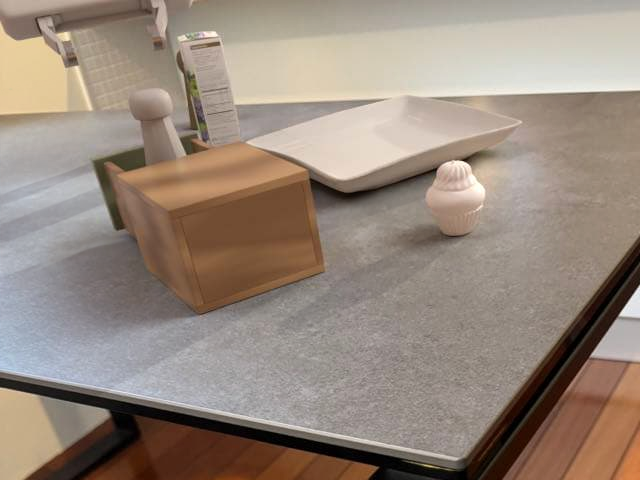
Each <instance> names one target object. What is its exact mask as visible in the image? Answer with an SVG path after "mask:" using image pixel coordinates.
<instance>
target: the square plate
mask: <svg viewBox="0 0 640 480" xmlns="http://www.w3.org/2000/svg"><path fill="white" fill-rule="evenodd" d="M522 124H523V122H522V120H520V119H516V118H513V117H510V116H506V115H501V114H498V113H496V112H491V111H487V110H485V109H480V108H477V107H474V106H469V105H465V104H460V103H457V102H452V101H446V100H441V99H436V98H430V97H423V96H419V95H413V94H403V95H399V96H396V97H393V98H389V99H383V100H380V101H377V102H372V103H368V104H364V105H361V106H356V107H352V108H349V109H345V110H340V111H337V112H333V113H330V114H327V115H324V116H320V117H317V118H313V119H310V120H307V121H304V122H301V123H298V124H294V125H291V126H289V127H285V128H282V129H280V130H276V131H274V132H269V133H267V134H263V135H261V136H258V137H255V138H251V139H248V140H247V141H244V143H247V144H249V145H251V146H254V147H256V148H258V149H260V150H263V151H265V152H267V153H270V154H272V155H274V156H277V157H279V158H281V159H284V160H286V161H288V162H290V163H293V164H295V165H297V166H300V167H302V168H304V169H307V170H308V175H309V179H311V180H313V181H316V182H319V183H320V184H323V185H325V186H326V187H329V188H332V189H333V190H336V191H338V192H342V193H344V194H348V193H356V192H364V191H370V190H375V189H379V188H383V187H385V186H388V185H392V184H395V183H397V182H400V181H403V180H406V179H409V178H413V177H415V176H418V175H421V174H423V173H427V172H430V171H431V170H436V169H438V168H439V167H440V166H441V165H442V164H444V163H446V162H450V161H452V160H454V161H463V160H465V159H467V158H469V157H471V156H473V155H474V154H475V153H477V152H480V151H482V150H485V149H489V148H491V147H493V146H495V145H498V144H499V143H502V142H503V141H505V140H506V139H508V138H509V137H510V136H511V135H512V134H513V133H514V132H515V131H516V129H517V128H518V127H519V126H520V125H522Z"/></svg>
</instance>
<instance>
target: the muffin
mask: <svg viewBox="0 0 640 480" xmlns="http://www.w3.org/2000/svg"><path fill="white" fill-rule="evenodd" d="M485 198H486V189H485V187H484V186H483V185H482V184H481V183H480V182H479V181H478V180H477V178H476V177H475V176H474V174H473V172H472V167H471V166H470V164H468V163H467V162H465V161H463V160H460V161H454V160H452V161H450V162H446V163H444V164H442V165H441V166H440V167H438V168H437V170H436V177H435V179H434V181H433V183H432V185H431V186H429V187H428V189H427V190H426V193H425V203H426V206H427V207H428V209H429V213H430V214H431V216H432V218H433V220H434V221H435V223H436V224H437V226H438V228H439V229H440V231H441V232H442V233H443V234H444V235H446V236H451V237H452V236H453V237H455V236H456V237H458V236H459V237H460V236H464V235H468V234H469V233H472V231H473V230H474V229H475V226H476V224H477V221H478V219H479V216H480V214H481V212H482V209H483V208H484V204H483V203H484V201H485Z"/></svg>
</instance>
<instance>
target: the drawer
mask: <svg viewBox="0 0 640 480" xmlns="http://www.w3.org/2000/svg"><path fill="white" fill-rule="evenodd" d="M178 137H179V139H180V141H181V144H182V146H183V148H184V151H185V153H186V155H191V154H194V153H198V152H202V151H205V150H209V149H213V148H216V147H213V146H211V145H209V144H207V143H205V142H203V141H201V139H199V138H200V137H199V135H198V132H196V131H189V132H186V133H182V134H178ZM89 160H90V163H91V165H92V168H93V169H92V170H93V172H94V175H95V177H96V180H97V183H98V186H99V189H100V192H101V195H102V197H103V201H104V203H105V206H106V209H107V212H108V215H109V218H110V221H111V224H112V227H113V229H114V230H115V231H116V232H119V231H122V230H125V231H126V232H128V233H129V234H130V235H131V236H132V237H134V238H135V239H136V240H137V238H136V235H135V231H134V228H133V225H132V222H131V219H130V216H129V213H128V210H127V207H126V204H125V201H124V198H123V195H122V192H121V189H120V186H119V183H118V180H117V176H116V175H117V174H121V173H124V172H128V171H132V170H135V169H139V168H143V167H146V159H145V151H144V144H140V145H136V146H132V147H129V148H125V149H121V150H117V151H112V152H110V153H106V154H101V155H98V156H94V157H90V159H89Z"/></svg>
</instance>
